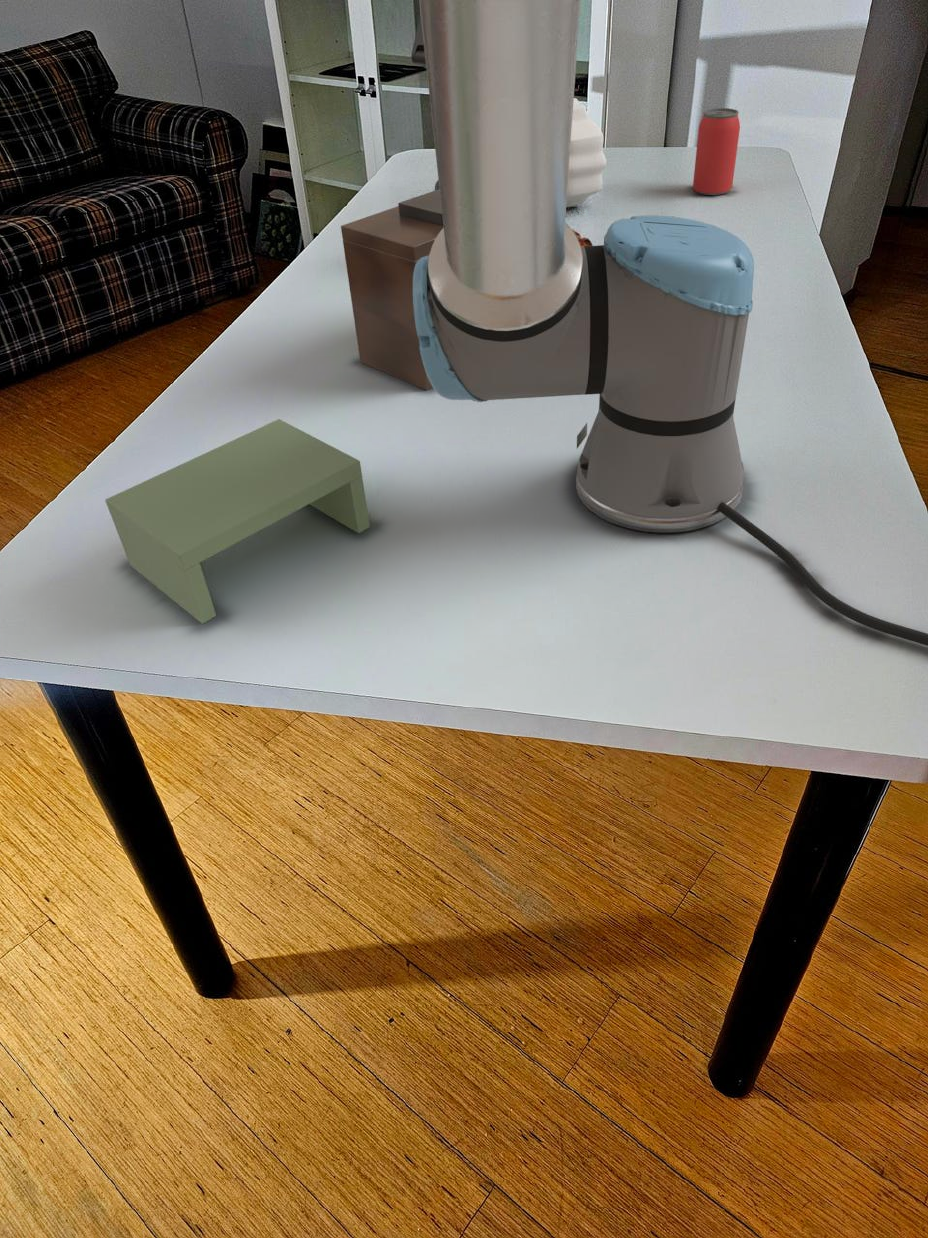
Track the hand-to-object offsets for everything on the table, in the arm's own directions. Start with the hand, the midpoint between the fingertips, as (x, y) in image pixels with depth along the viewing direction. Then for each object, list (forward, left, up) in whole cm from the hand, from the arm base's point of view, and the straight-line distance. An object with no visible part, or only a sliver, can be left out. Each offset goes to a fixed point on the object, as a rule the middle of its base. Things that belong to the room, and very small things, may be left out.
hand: (501, 132), depth 88 cm
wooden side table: (+9, 0, -25) cm, 27 cm away
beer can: (+19, -72, -25) cm, 79 cm away
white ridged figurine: (+36, -52, -25) cm, 68 cm away
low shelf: (-7, +41, -25) cm, 49 cm away
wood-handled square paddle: (+5, 0, -9) cm, 10 cm away
